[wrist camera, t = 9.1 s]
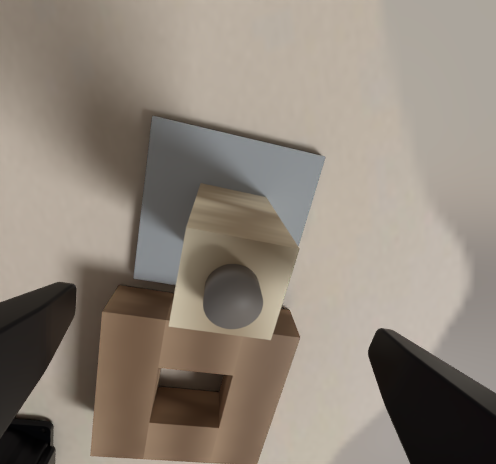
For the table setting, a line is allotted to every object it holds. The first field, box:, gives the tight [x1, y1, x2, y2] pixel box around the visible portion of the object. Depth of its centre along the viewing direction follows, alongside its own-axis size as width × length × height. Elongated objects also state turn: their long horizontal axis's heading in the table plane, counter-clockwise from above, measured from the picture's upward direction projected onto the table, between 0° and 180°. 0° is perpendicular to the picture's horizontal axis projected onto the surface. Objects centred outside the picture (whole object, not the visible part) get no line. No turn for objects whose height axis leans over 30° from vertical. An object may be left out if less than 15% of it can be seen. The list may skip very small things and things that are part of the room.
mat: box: [133, 116, 325, 285], centre depth 19 cm, size 10×10×1 cm
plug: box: [169, 183, 299, 340], centre depth 14 cm, size 4×4×9 cm
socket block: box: [90, 285, 300, 464], centre depth 21 cm, size 12×12×3 cm
